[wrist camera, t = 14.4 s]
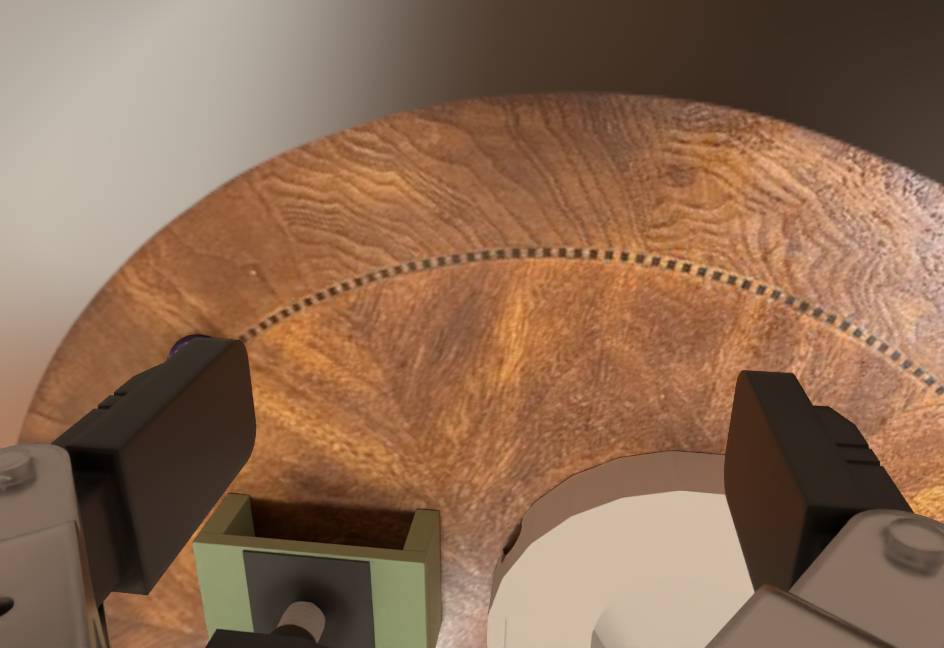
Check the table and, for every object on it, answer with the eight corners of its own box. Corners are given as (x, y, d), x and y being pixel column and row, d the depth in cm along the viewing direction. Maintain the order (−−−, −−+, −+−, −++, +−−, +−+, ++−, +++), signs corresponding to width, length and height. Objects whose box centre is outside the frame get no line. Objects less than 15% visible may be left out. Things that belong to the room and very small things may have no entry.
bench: (243, 601, 53) (188, 696, 45) (227, 493, 49) (165, 576, 42) (441, 621, 51) (418, 723, 44) (439, 510, 47) (413, 601, 40)
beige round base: (824, 405, 41) (847, 443, 38) (902, 710, 49) (929, 767, 45) (439, 503, 47) (427, 544, 44) (560, 762, 54) (558, 816, 51)
